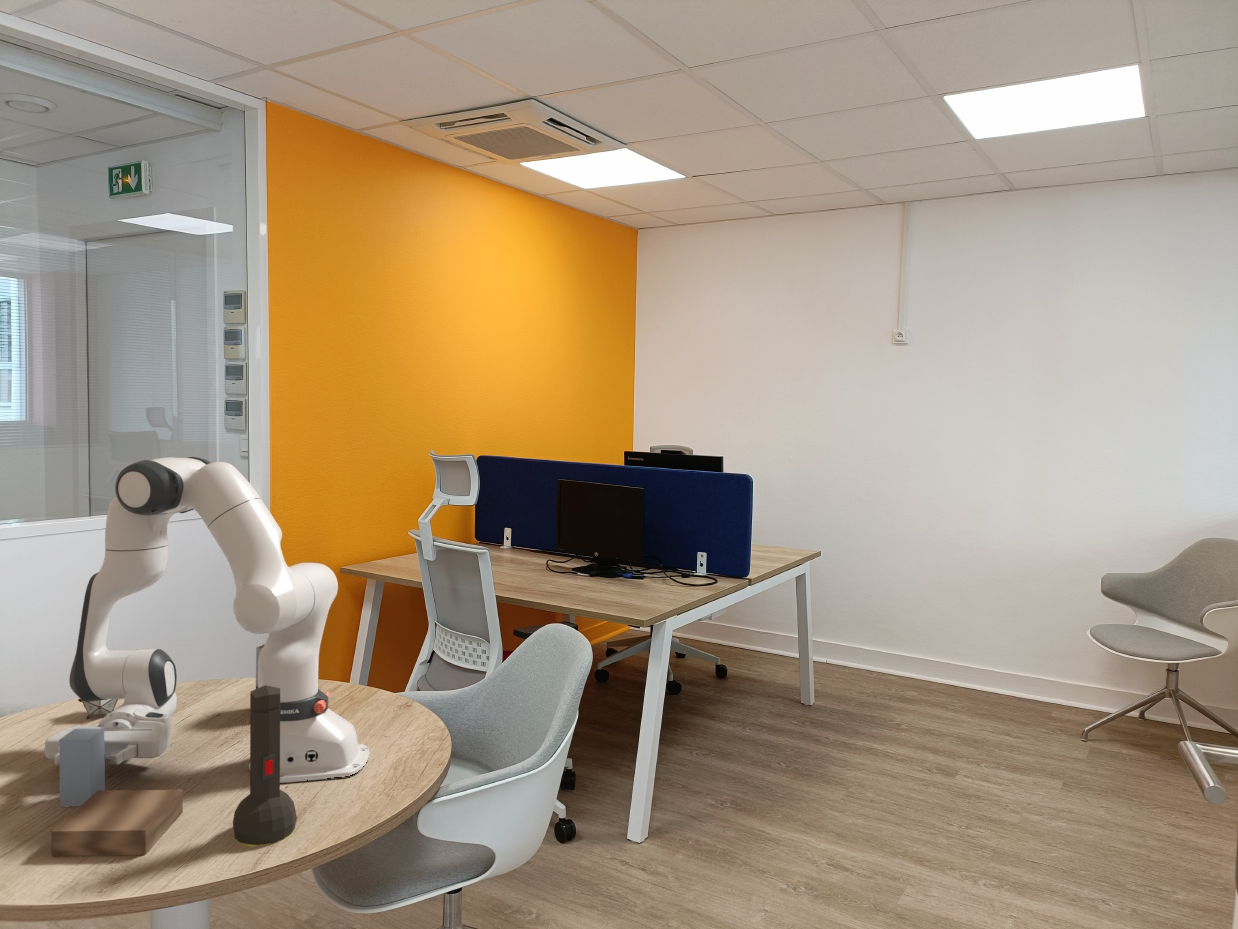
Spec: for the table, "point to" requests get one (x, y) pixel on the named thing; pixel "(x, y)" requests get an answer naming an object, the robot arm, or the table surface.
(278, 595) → the robot arm
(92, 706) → the game die
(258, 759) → the flashlight
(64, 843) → the block
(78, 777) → the slate block
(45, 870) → the table surface
